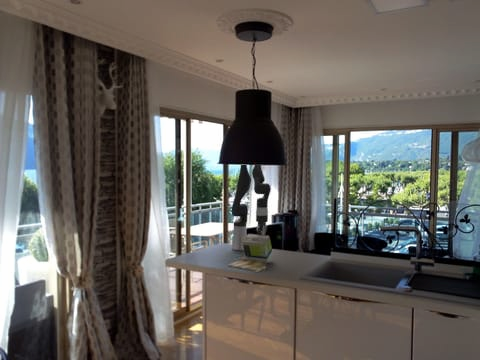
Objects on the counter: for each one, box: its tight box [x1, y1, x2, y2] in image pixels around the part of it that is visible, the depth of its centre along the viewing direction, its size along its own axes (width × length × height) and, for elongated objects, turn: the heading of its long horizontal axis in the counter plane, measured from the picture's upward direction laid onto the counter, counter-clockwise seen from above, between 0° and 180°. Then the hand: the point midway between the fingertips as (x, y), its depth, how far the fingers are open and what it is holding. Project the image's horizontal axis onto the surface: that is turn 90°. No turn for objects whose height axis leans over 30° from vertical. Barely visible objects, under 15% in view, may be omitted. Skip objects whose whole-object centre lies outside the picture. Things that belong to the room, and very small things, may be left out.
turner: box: [254, 264, 273, 273], centre depth 236 cm, size 16×4×1 cm, turn 149°
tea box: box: [242, 233, 274, 264], centre depth 253 cm, size 15×10×15 cm, turn 63°
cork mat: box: [227, 258, 268, 272], centre depth 243 cm, size 18×16×2 cm
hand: (261, 241), depth 257 cm, fingers closed
